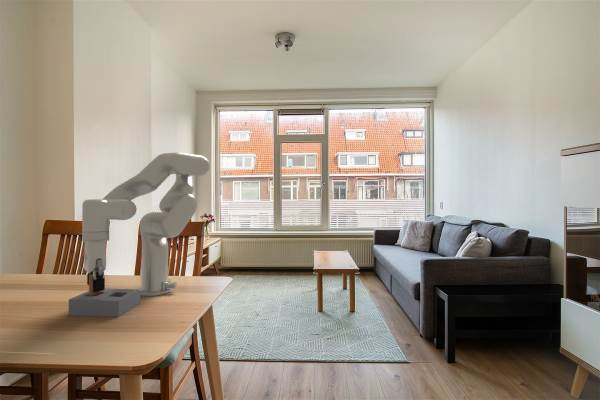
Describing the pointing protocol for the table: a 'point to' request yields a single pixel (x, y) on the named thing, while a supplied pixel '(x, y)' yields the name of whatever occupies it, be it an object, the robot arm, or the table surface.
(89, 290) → the dowel
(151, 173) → the robot arm
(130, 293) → the bore block
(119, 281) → the table surface
